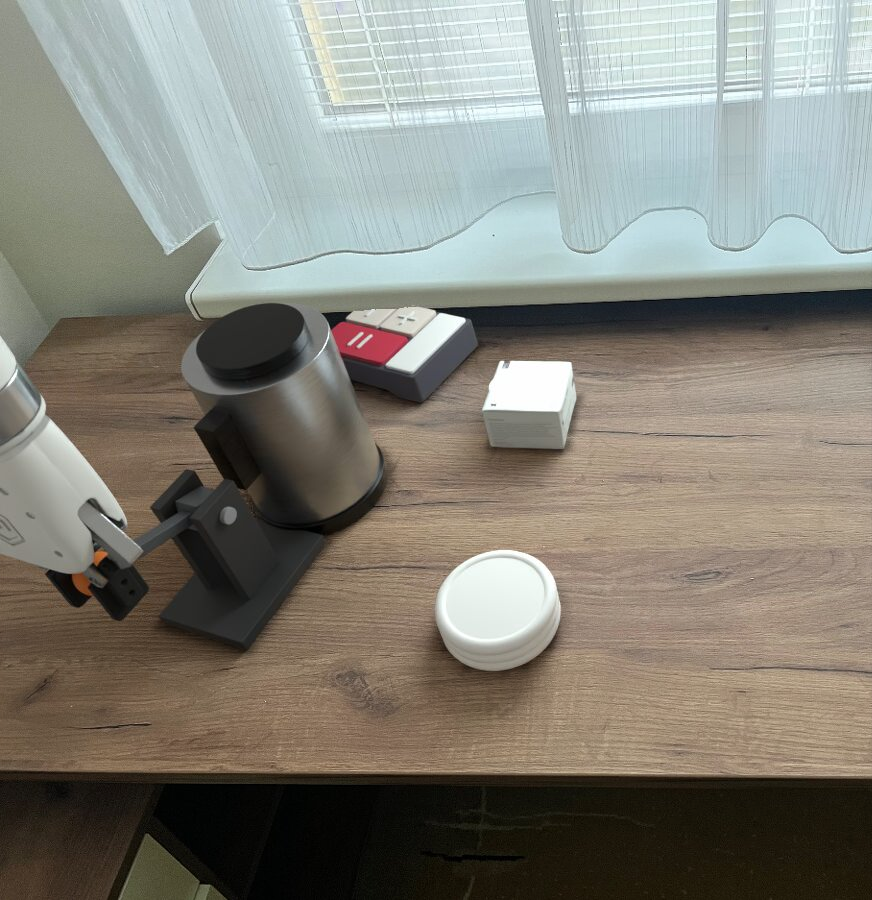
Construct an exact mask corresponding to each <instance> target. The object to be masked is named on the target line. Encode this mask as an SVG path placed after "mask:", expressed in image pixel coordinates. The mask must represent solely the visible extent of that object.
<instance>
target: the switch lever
mask: <svg viewBox="0 0 872 900" xmlns="http://www.w3.org/2000/svg"><path fill="white" fill-rule="evenodd" d="M215 489H216V488H212V487H207V486H205V485H204V486H200V487H198V488H196V489H195V490H193V491H191V492H190V493H188V494H187V495H185V496H183V497H182V498H180V499H178V500H177V501H175V502H176V507H177V511H178V513H177V514H175V515H174V516H172V517H170V518H169V519H167V520H165V521H164V522H162V523H159V524H157V525H156V526H154V527H152V528H151V529H149V530H148V531H146V532H144V533H143V534H141V535H139V536H138V537H136V538H134V539H132V540H133V541H134V542H135V543H136V544H137V545H138V546H139V547H141V548H142V549H143V551H144V554H143V555H142V556H141V557H140V558H139V559H138V560H140V559H142V558H143V557H145V556H146V555H147V554H149V553H151V552H152V551H155V549H157V548H159V547H161V546H162V545H164V544H166V543H167V542H168V541H170V540H172V539H171V538H173V537H174V536H176V535H177V534H179V533H181V532H182V531H184V530H185V529H187V528H189V529H192V530H196V531H198V530H197V529H196V527H195V526H194V524H193V523H192V521H191V520H190V517H191V515H192V514H193V513H194V512H195V511H196V510H197V509H198V508H199V506H200V505H201V504H202V503H203V502H204V501H205V500H206V499H207V498H208V496H209V495H210V494H211V493H212V492H213V491H214V490H215ZM107 554H108V552H107V551H96V552H95V553H94V562H93V563H94V564H95V565H96V566H97V565H98V564H99V562H100V561H101V560H102V559H103V558H104V557H105V556H106V555H107ZM138 560H137V561H138ZM72 580H73V583H74V585H75V587H76V588H77V589H78V590H79V591H80V592H82V593H84V594H86V595H89V596H92V597H94V595H93V594H92V593H91V592H90V590H89V589H88V588H87V587H88V586H89V585H90V583H91V582H90V581H89V580H88V579H87V578H86V576H85V575H84V574H83V573H77V574H72Z"/></svg>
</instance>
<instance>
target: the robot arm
mask: <svg viewBox="0 0 872 900" xmlns="http://www.w3.org/2000/svg"><path fill="white" fill-rule="evenodd" d="M46 411H47V404H46V400H45V399H44V397H43V396H42V394H41V393H40V392H39V390H38V388H37V387H36V385H35V384H34V382H33V381H32V380H31V378H30V377H29V375H28V373H27V372H26V371H25V369H24V368H23V366H22V365H21V364H20V362H19V360H18V359H17V358H16V356H15V355H14V353H13V352H12V350H11V349H10V347H9V345H7V343H6V341H5V340H4V338H2V336H1V335H0V555H3V556H6V557H9V558H12V559H16V560H19V561H21V562H24V563H28V564H32V565H34V566H35V567H37V568H38V569H40V570H41V571H45V573H44V575H45V577H46V578H47V579H48V580H49V582H51V584H52V585H53V586H54V588H55V589H56V590H57V591H58V592H59V593H60V595H61V596H62V597H63V598H64V599H65V600H66V602H67V603H68V604H69V605H70V607H74V608H77V609H80V608H81V607H84V605H85V604H86V603H87V602H89V600H90V599H91V598H92V597H94V599H96V600H97V602H98V603H99V605H101V607H102V608H103V609H104V611H105V612H106V613H107V614H108V616H109V618H111V619H112V620H114V621H117V622H122V621H124V620H125V618H127V616H128V615H129V614H130V613H131V612H132V611H133V610H134V609H135V607H137V606H138V604H139V603H140V601H142V600H143V599H144V597H146V595H147V594H148V593H149V590H150V587H149V585H148V584H147V582H146V580H145V579H144V577H142V575H141V574H140V572H139V571H138V569H137V568H136V566H135V564H136V563H137V562H138V559H139V558H140V557H141V556H142V555H143V554H144V551H143V549H142V548H141V547H139V546H138V545H137V544H136V543H135V542H134V541H133V540H134V539H132V538H131V537H129V535H127V534H126V533H125V532H124V531H125V530H127V529H128V520H127V517H126V515H125V512H124V511H123V509H122V507H121V505H120V504H119V503H118V501H117V499H116V498H115V496H114V495H113V493H112V492H111V491H110V489H109V488H108V486H107V485H106V483H105V482H104V481H103V479H102V478H101V477H100V476H99V474H98V473H97V472H96V470H95V469H94V468H93V467H92V465H91V463H89V461H88V460H87V459H86V457H84V455H83V454H82V453H81V452H80V451H79V450H78V448H77V447H76V446H75V445H74V443H73V442H72V441H71V440H70V439H69V438H68V436H67V435H66V433H64V432H63V431H62V430H61V429H60V427H58V425H57V424H56V423H55V422H54V421H53V420H52V419H51V418H50V417H49V416H48V415H46ZM100 548H102V549H103V550H104V551H105V552H107V553H108V554H107V555H106V556H105V557H104V558H103V559H102V560H101V561H100V562H99V564H98V565H97V566H96V565H95V564H94V563H93V562H94V553H95V552H98V551H99V550H100ZM140 559H141V558H140ZM140 559H139V560H140ZM77 573H83V574H84V575H85V576H86V578H87V579H88V580H89V581H90V582H91V583H90V585H89V586H88V587H87V588H88V589H89V590H90V592H91V593H92V594H93V595H94V596H89V595H86V594H84V593H82V592H80V591H79V590H78V589H77V588H76V587H75V585H74V583H73V580H72V574H77Z"/></svg>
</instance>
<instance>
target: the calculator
mask: <svg viewBox="0 0 872 900" xmlns="http://www.w3.org/2000/svg"><path fill="white" fill-rule="evenodd" d="M331 332H332V334H333V337H334V340H335V342H336V345H337V347H338V350H339V352H340V355H341V357H342V360H343V363H344V365H345V368H346V370H347V373H348V375H349V378H350V381H355V382H359V383H362V384H365V385H368V386H372V387H376V388H379V389H383V390H387V391H388V392H390V394H393V395H394V396H395V397H398V398H402V399H406V400H408V401H409V400H410V401H412V402H417V403H423V402H424V401H426V400H427V399H428V398H429V397H430V395H432V394H433V393H434V392H435V391H436V389H437V388H438V387H440V385H442V383H443V382H444V381H445V380H446V379H447V378H448V377H449V376H450V375H451V374H452V373H453V372H454V371H455V370H456V369H457V368H458V367H459V366H460V365H461V364H462V363H463V362H464V361H465V360H466V359H467V358H468V357H469V356H470V354H471V353H473V352H474V351H475V349H476V348H477V347H478V346H479V343H478V340H477V335H476V332H475V329H474V326H473V322H472V320H471V319H470V318H466V317H463V316H462V317H461V316H457V315H453V314H448V313H444V312H438V311H436V310H435V309H432V308H431V309H430V308H427V307H421V306H417V307H408V308H407V307H404V308H399V309H376V310H375V309H371V310H364V311H354V310H353V311H351V313H349V314H348V315H347V316H346V317H345V320H344V321H341V322H339V323H337V324H336V325H335V326H334V327H333V328H332V329H331Z"/></svg>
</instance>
